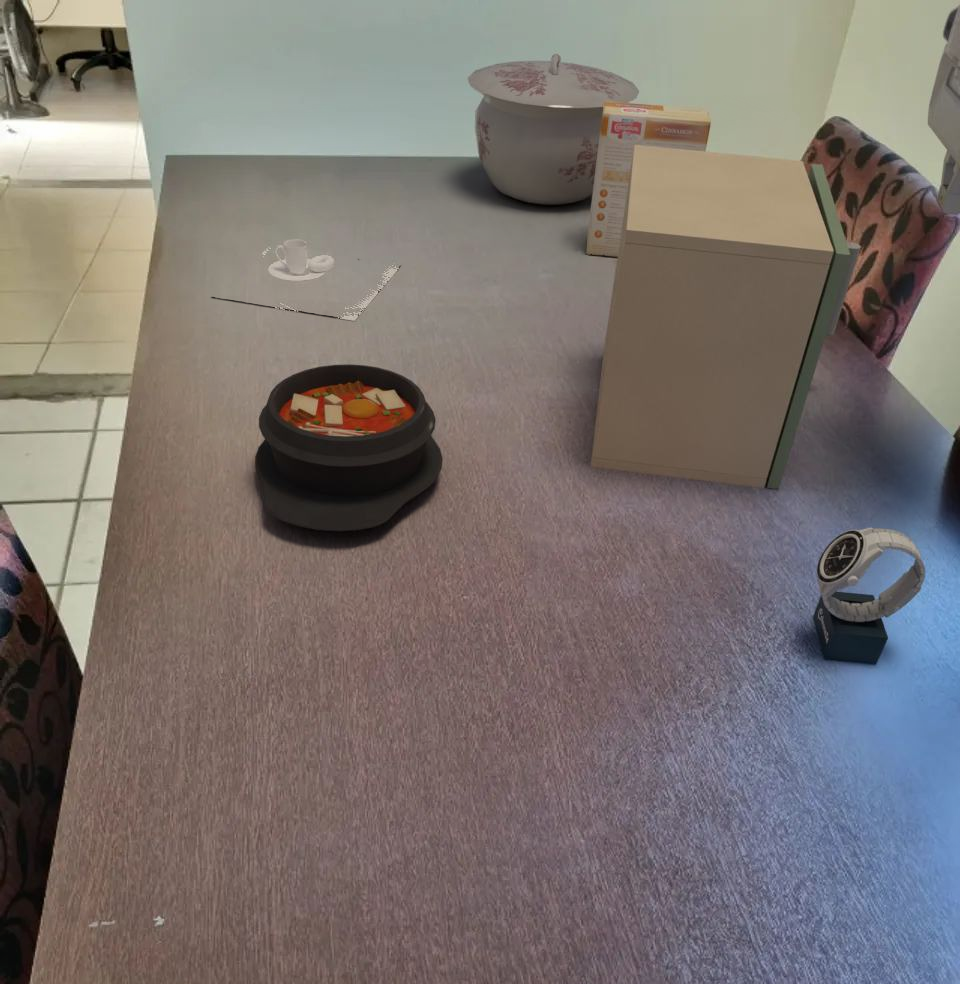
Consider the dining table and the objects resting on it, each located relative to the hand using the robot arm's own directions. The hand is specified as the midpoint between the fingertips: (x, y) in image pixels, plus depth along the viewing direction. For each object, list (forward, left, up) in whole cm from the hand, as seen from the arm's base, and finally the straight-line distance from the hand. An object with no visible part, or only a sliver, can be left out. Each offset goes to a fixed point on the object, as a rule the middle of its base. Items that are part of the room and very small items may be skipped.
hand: (947, 209), depth 89 cm
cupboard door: (+7, -3, -26) cm, 27 cm away
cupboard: (+20, -4, -26) cm, 33 cm away
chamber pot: (+42, -77, -26) cm, 91 cm away
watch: (+6, +32, -26) cm, 42 cm away
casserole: (+53, +16, -26) cm, 61 cm away
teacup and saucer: (+70, -30, -26) cm, 80 cm away
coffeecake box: (+26, -54, -26) cm, 65 cm away
